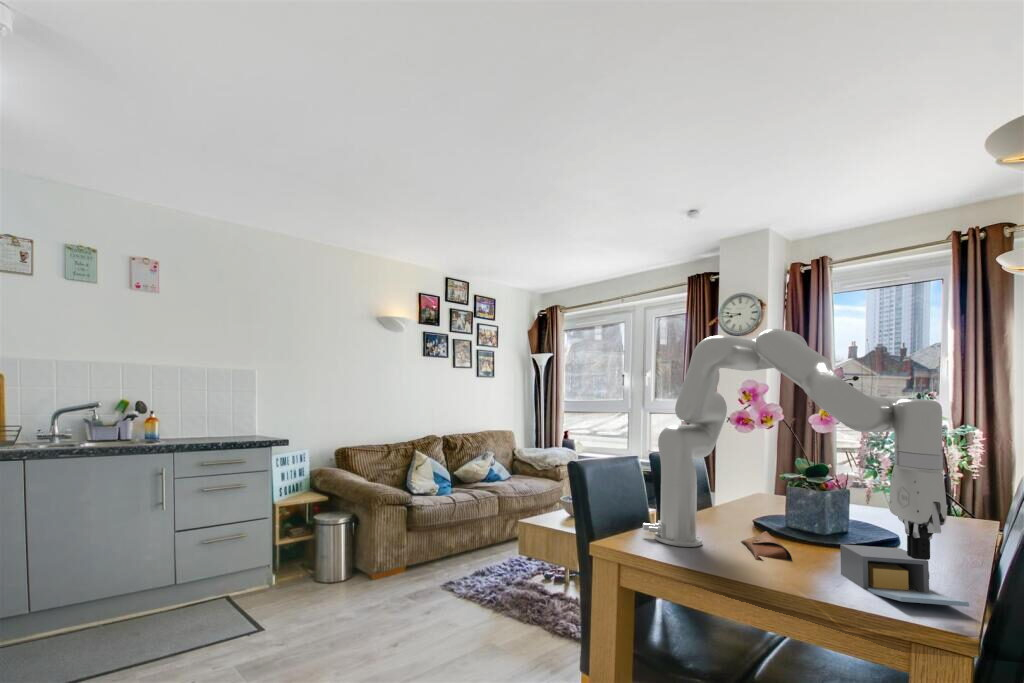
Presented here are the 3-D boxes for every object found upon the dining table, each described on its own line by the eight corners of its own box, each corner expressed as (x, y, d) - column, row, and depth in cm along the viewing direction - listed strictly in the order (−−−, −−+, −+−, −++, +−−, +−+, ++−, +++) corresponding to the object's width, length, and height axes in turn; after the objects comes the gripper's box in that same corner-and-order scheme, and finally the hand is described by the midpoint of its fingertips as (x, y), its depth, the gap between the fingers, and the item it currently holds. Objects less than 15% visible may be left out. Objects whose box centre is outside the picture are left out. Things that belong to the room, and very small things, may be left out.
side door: (868, 592, 110) (900, 601, 99) (867, 588, 110) (900, 596, 100) (929, 597, 109) (969, 606, 98) (929, 592, 109) (968, 602, 98)
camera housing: (863, 592, 111) (862, 556, 111) (840, 577, 120) (840, 544, 120) (937, 598, 109) (936, 561, 110) (909, 582, 118) (908, 549, 119)
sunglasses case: (737, 540, 148) (750, 520, 148) (760, 556, 146) (774, 535, 146) (755, 560, 130) (770, 537, 130) (782, 578, 129) (797, 555, 128)
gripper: (875, 455, 111) (875, 544, 110) (923, 466, 96) (924, 569, 95) (913, 458, 110) (913, 548, 109) (967, 469, 96) (969, 573, 94)
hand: (918, 557), depth 102 cm, fingers closed
